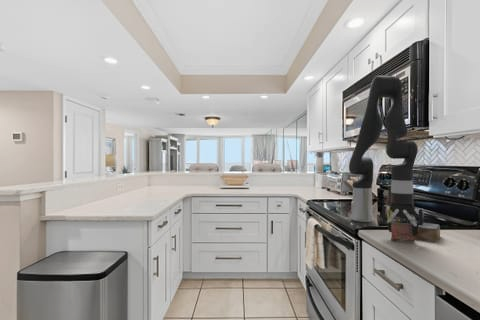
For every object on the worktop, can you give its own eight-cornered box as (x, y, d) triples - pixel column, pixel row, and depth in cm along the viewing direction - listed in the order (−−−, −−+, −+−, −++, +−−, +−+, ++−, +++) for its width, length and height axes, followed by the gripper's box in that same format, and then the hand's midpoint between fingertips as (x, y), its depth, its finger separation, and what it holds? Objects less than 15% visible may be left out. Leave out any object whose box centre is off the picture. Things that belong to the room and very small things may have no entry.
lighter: (412, 240, 105) (412, 215, 105) (415, 243, 102) (415, 217, 102) (389, 239, 107) (389, 214, 107) (392, 242, 104) (392, 216, 104)
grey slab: (406, 237, 110) (406, 225, 110) (411, 232, 117) (411, 221, 117) (436, 242, 103) (436, 229, 103) (440, 236, 110) (439, 224, 110)
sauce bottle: (405, 228, 124) (404, 185, 124) (395, 229, 122) (395, 186, 122) (392, 225, 130) (392, 184, 130) (383, 226, 128) (382, 184, 128)
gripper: (425, 192, 102) (426, 234, 102) (384, 189, 112) (385, 228, 112) (422, 194, 97) (422, 239, 97) (379, 191, 107) (379, 232, 107)
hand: (402, 233), depth 104 cm, fingers closed on lighter, 7 cm apart
